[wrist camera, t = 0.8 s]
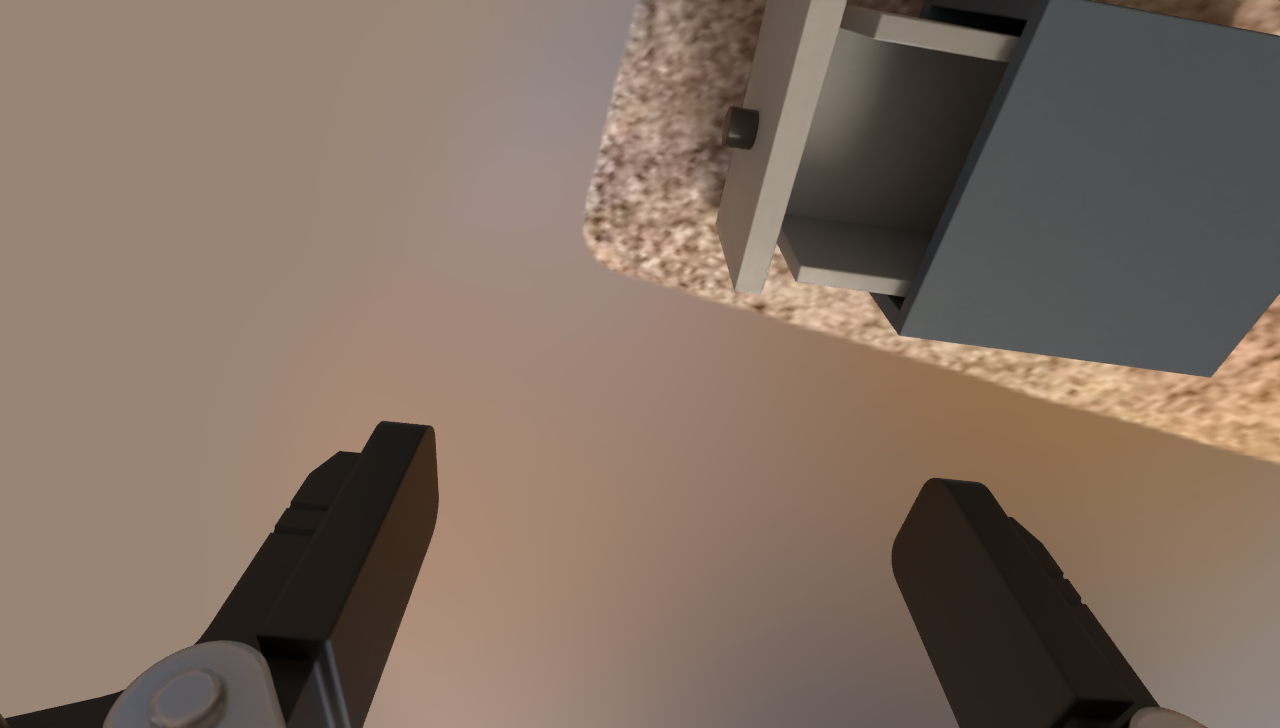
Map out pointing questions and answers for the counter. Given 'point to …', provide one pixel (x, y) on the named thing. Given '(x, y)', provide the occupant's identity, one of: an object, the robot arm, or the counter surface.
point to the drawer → (851, 142)
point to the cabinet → (1109, 192)
